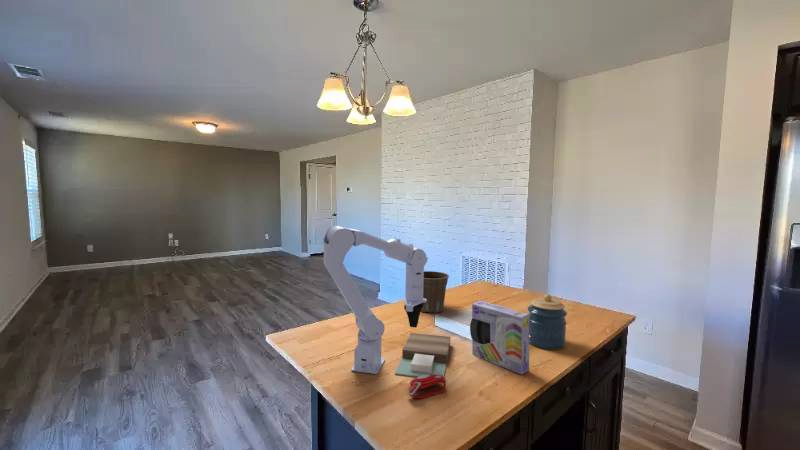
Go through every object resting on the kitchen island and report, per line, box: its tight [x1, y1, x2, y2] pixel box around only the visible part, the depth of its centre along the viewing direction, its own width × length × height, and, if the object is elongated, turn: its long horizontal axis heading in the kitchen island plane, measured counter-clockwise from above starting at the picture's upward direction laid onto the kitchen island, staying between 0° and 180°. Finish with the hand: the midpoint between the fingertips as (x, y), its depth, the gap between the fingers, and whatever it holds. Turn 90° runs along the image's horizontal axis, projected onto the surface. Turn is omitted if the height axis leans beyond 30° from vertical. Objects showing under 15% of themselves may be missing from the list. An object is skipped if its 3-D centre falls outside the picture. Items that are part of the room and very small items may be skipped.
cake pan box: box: [469, 300, 530, 375], centre depth 109 cm, size 19×5×18 cm, turn 40°
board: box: [401, 332, 451, 365], centre depth 116 cm, size 14×14×3 cm
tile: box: [411, 354, 434, 373], centre depth 105 cm, size 7×6×2 cm
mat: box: [394, 358, 447, 378], centre depth 104 cm, size 10×14×1 cm
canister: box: [527, 293, 568, 351], centre depth 124 cm, size 13×13×18 cm
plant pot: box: [421, 270, 450, 314], centre depth 159 cm, size 16×16×16 cm
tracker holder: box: [406, 374, 447, 399], centre depth 93 cm, size 12×4×10 cm
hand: (413, 326), depth 112 cm, fingers closed
